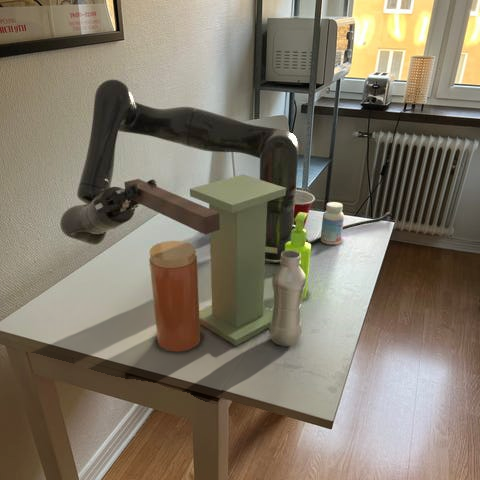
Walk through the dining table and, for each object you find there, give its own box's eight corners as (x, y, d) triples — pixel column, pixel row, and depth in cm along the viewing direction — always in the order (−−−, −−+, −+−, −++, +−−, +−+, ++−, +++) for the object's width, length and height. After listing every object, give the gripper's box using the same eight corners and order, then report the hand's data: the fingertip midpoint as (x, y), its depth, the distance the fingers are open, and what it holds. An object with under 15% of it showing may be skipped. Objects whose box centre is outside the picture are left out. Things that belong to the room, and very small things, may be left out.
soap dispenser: (309, 289, 122) (316, 212, 111) (303, 302, 116) (310, 223, 105) (286, 285, 123) (291, 209, 113) (279, 298, 118) (284, 219, 107)
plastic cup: (302, 242, 145) (305, 203, 139) (270, 234, 150) (271, 196, 144) (317, 230, 153) (321, 193, 147) (286, 223, 158) (288, 186, 151)
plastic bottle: (266, 332, 106) (270, 247, 95) (297, 331, 106) (305, 246, 95) (270, 350, 100) (275, 262, 89) (303, 349, 101) (311, 261, 90)
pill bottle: (340, 246, 144) (345, 209, 138) (319, 244, 145) (323, 207, 139) (341, 237, 149) (345, 202, 143) (321, 236, 150) (324, 200, 144)
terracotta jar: (194, 324, 108) (190, 237, 97) (205, 347, 101) (201, 256, 90) (154, 331, 106) (145, 243, 95) (162, 355, 99) (152, 263, 88)
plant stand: (193, 319, 110) (186, 187, 94) (238, 297, 118) (239, 173, 102) (235, 346, 102) (236, 206, 85) (281, 321, 110) (290, 189, 93)
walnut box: (125, 197, 95) (124, 181, 93) (139, 193, 97) (138, 178, 95) (205, 234, 80) (204, 217, 79) (219, 229, 82) (219, 212, 80)
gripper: (72, 200, 100) (104, 174, 86) (132, 185, 108) (169, 160, 94) (87, 235, 101) (120, 215, 88) (144, 218, 109) (183, 198, 96)
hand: (146, 187), depth 91 cm, fingers closed on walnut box, 3 cm apart
